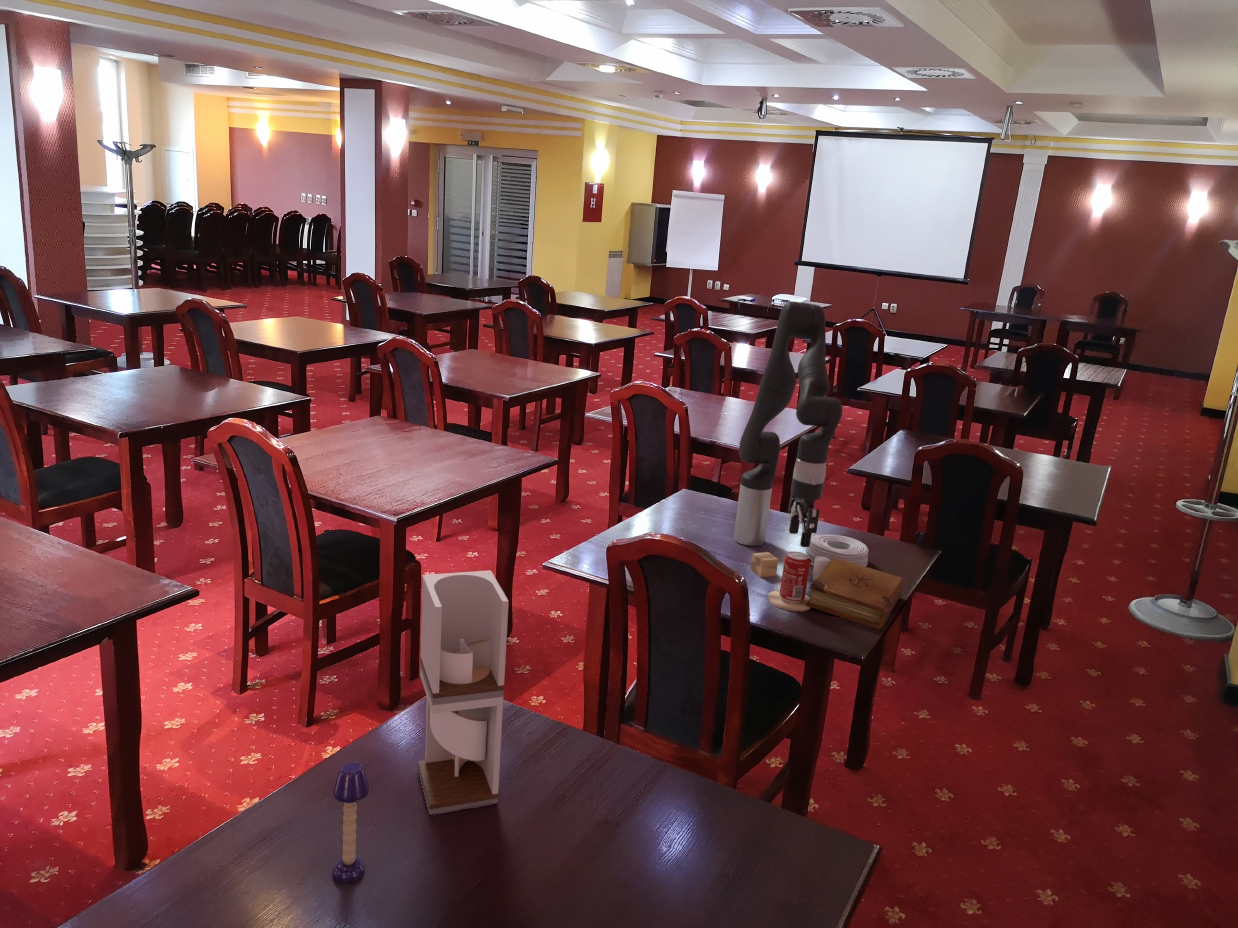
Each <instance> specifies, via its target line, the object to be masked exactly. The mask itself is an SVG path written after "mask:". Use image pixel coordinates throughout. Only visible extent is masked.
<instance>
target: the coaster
mask: <svg viewBox="0 0 1238 928" xmlns="http://www.w3.org/2000/svg"><path fill="white" fill-rule="evenodd" d="M810 598H811V597H810V596H808V595H807V594H805V599H804V600H803V601H801V602H800V603H797V604H793V603H788V602H785V601H784V600H783V599H782V597H781V596H780V589H777V590H773V591H770V592H768V597H767V600H768V602H769V604H771V605H772V606H774V607H776V608H778V609H780V608H781V609H780V610H784V611H789V612H799V611H800V612H806V611H809V610H811V609H812V607H809V606H806V605H807V602H808V601H809V599H810ZM800 612H799V613H800Z"/></svg>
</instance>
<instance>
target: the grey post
mask: <svg viewBox="0 0 1238 928" xmlns="http://www.w3.org/2000/svg"><path fill="white" fill-rule="evenodd" d="M813 563H814V566H813V571H812V576H811V580H812V581H813V582H814V581H815V580H816V579H817V577H818V576H819V575H820V574H821V573H822V572H823V571H824V569H825V568H826V567H827V566H828V565H829V564H830V559H829V558H826V557H822V556H818V557H815V562H813Z"/></svg>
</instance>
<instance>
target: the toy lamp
mask: <svg viewBox="0 0 1238 928" xmlns="http://www.w3.org/2000/svg"><path fill="white" fill-rule="evenodd" d="M368 783H369V782H368V779H367V776H366V772H365V769H364V766H363V765H362V763H360V762H357V761H348V762H345V763H343V764H342V765H341V766H340V767H339V771H338V773H337V777H336V780H335V782H334V786H333V788H332V789H333V790H332V795H333V797H334V799H335V800H337V801H338V802H341V803H343V807H342V809H343V811H342V812H343V816H342V821H343V825H342V832H343V835H342V842H343V844H342V858H340V859H339V860H338V861H337V862H336V864H335V865H334V867H333V870H332V877H333V879H334V880H336V881H337V882H339V883H342V884H343V883H344V884H348V883H353V882H355V881H358V880H360V879H361V878H362V877H363V876H364V874H365V865H364V863H363V861H362V859H360V858H359V857H357V854H356V849H357V843H356V840H357V832H356V831H357V823H356V821H357V819H358V818H357V817H358V816H357V813H356V812H357V809H358V806H357V802H360V801H362V800H364V799H365V798H366V797H367V796H368V794H369V792H370V791H369V790H370V787H369V784H368Z"/></svg>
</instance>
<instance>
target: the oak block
mask: <svg viewBox="0 0 1238 928" xmlns="http://www.w3.org/2000/svg"><path fill="white" fill-rule="evenodd" d="M778 565H779V558H777V557H776V556H775V555H773V554H772V553H770V552H768V551H766V552H756V553H752V555H751V563H750V571H751V572H752V573H753V574H754V575H757V576H758V577H759V578H768V577H770V578H771V577H776V576H777V573H778Z"/></svg>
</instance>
